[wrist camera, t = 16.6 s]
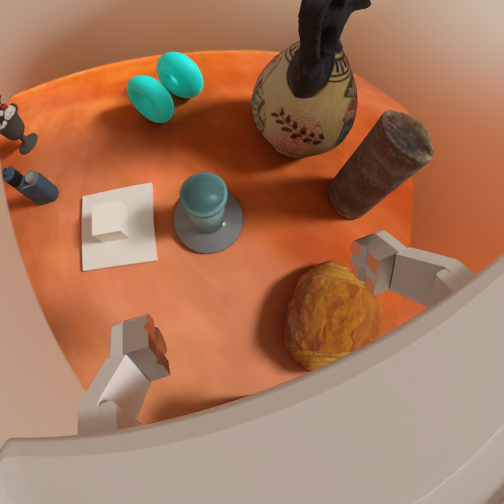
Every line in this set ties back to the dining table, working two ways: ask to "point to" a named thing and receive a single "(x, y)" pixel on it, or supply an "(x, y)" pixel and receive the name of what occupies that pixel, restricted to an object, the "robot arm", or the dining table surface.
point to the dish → (214, 240)
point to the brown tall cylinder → (380, 164)
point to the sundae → (15, 127)
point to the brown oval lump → (330, 316)
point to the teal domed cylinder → (204, 201)
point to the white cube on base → (118, 228)
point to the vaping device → (31, 185)
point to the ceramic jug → (309, 84)
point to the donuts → (173, 78)
